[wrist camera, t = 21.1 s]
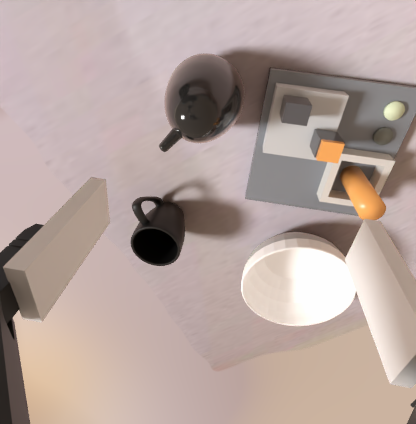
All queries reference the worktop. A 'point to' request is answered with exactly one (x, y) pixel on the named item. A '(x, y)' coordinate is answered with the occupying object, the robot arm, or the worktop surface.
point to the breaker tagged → (326, 145)
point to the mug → (158, 232)
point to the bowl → (297, 280)
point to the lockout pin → (362, 193)
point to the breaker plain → (295, 110)
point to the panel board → (350, 129)
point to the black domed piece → (202, 100)
